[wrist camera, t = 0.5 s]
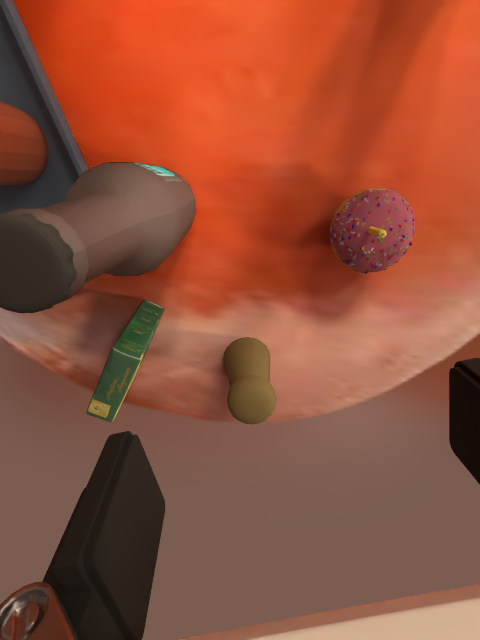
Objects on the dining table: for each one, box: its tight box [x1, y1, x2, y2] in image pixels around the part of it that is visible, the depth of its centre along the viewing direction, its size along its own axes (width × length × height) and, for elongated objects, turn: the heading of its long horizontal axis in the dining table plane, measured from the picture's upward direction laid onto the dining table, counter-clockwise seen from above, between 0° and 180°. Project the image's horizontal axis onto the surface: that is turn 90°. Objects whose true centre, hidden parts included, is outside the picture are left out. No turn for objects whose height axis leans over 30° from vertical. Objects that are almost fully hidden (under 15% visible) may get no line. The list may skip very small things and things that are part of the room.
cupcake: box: [329, 188, 415, 274], centre depth 36 cm, size 9×8×12 cm
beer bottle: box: [0, 162, 196, 313], centre depth 26 cm, size 8×8×30 cm
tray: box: [0, 0, 89, 214], centre depth 36 cm, size 28×12×2 cm, turn 18°
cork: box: [224, 337, 276, 424], centre depth 42 cm, size 6×6×11 cm
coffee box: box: [86, 300, 164, 422], centre depth 39 cm, size 8×3×13 cm, turn 153°
